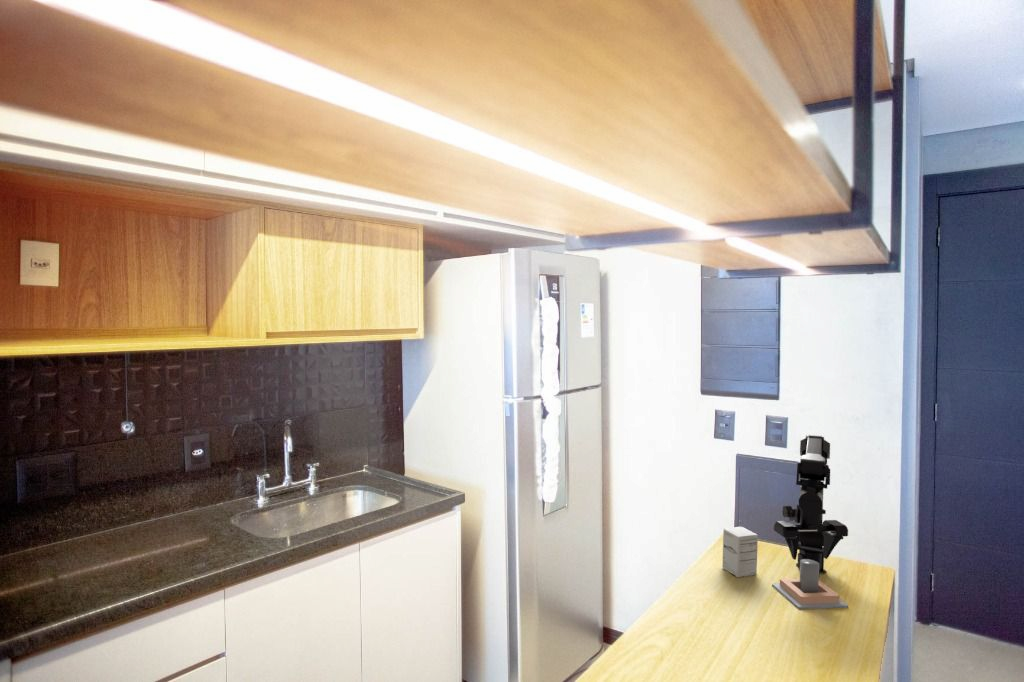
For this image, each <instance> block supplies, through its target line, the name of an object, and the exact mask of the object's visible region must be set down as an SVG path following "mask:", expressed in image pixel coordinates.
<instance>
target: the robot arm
mask: <svg viewBox="0 0 1024 682" xmlns="http://www.w3.org/2000/svg"><path fill="white" fill-rule="evenodd" d="M830 454H831V443H830V442H828V441H827V440H826V439H825V436H822V435H815V434H807V435H805V438H803V439H801V440H800V444H799V455H800V460H799V461H797V464H796V466H797V467H796V482H795V485H796V486H800V490H799V491H800V492H799V497H798V503H797V505H796V508H792V506H791V505H783V506H782V511H781V512H782V516H783V518H788V520H777V521H776V522H774V524H773V531H774V532H776V533H777V534H779V535H780V536H781V537H782V538H784V539H785V542H786V544H787V546H788V550H789V552H790V556H791V558H792V559H793V561H794V560H796V559H797V562H796V563H795V566H796V567H798V568H799V569H800V560H802V559H810V560H814V561H816V562H818V563H819V574H827V570H826V569H824V568H825V567H824V565H825V564H824V563H825V561H824V560H827V559H828V558H829V556H830V555H831V553H833V550H834V549H835V547H836V546H837V545H838V544H839V542H840V541H841V540H844V537H848V536H849V529H848V527H847V525H846V524H844V523H842V522H840V521H839V520H837V519H825V520H823V515H826V514H827V510H826V509H824V489H825V490H826V489H828V486H829V485H831V468H830V465H828V459H831V457H830V456H831V455H830ZM791 521H794V522H795V523H796V524H794V523H792V522H791ZM798 551H799V552H798Z"/></svg>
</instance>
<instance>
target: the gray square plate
mask: <svg viewBox="0 0 1024 682" xmlns="http://www.w3.org/2000/svg"><path fill="white" fill-rule="evenodd" d="M799 585H800V577H797V578H779V582H778V583H771V587H773V588H774V587H775V588H776V589H777V590H776V589H775V588H774V589H775V590H776V591H777V592H779V593H780V594H781V595H782V596H783V597H784V596H785V597H786V598H785V597H784V598H785V599H787V600H788V601H789V602H790V603H791V604H792V605H793V606H794V607H796V608H797V609H798V610H809V609H810V610H813V609H842V608H843V609H846V608H849V604H847V603H846V602H844V601H843V600H842V599H841V596H840V594H838V593H837V592H835V591H834V590H833V589H831V588H830V587H829V586H828V585H826V584H825V583H824V582H822V581H821V580H820V579H819V591H818V593H803V592H802V591H801V590H800V589H799Z"/></svg>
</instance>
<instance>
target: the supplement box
mask: <svg viewBox="0 0 1024 682" xmlns="http://www.w3.org/2000/svg"><path fill="white" fill-rule="evenodd" d="M722 536H723V538H722V569H724V570H726V571H727V572H729V573H731V575H734V577H736V578H743V577H742V576H744V577H749V576H748V575H750V576H754V574H756V575H757V573H758V571H757V570H758V569H757V567H758V544H759V543H758V541H759V539H758V537H759V535H758V534H757V533H755V532H753V531H751V530H750V529H747V528H745V527H744V526H734V527H727V528H723V535H722Z"/></svg>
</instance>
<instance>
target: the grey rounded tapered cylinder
mask: <svg viewBox="0 0 1024 682" xmlns="http://www.w3.org/2000/svg"><path fill="white" fill-rule="evenodd" d="M799 578H800V585H799V589H800V590H801V591H802V592H803V593H818V591H819V580H820V573H819V563H818V562H816V561H814V560H810V559H802V560H800V568H799Z"/></svg>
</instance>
